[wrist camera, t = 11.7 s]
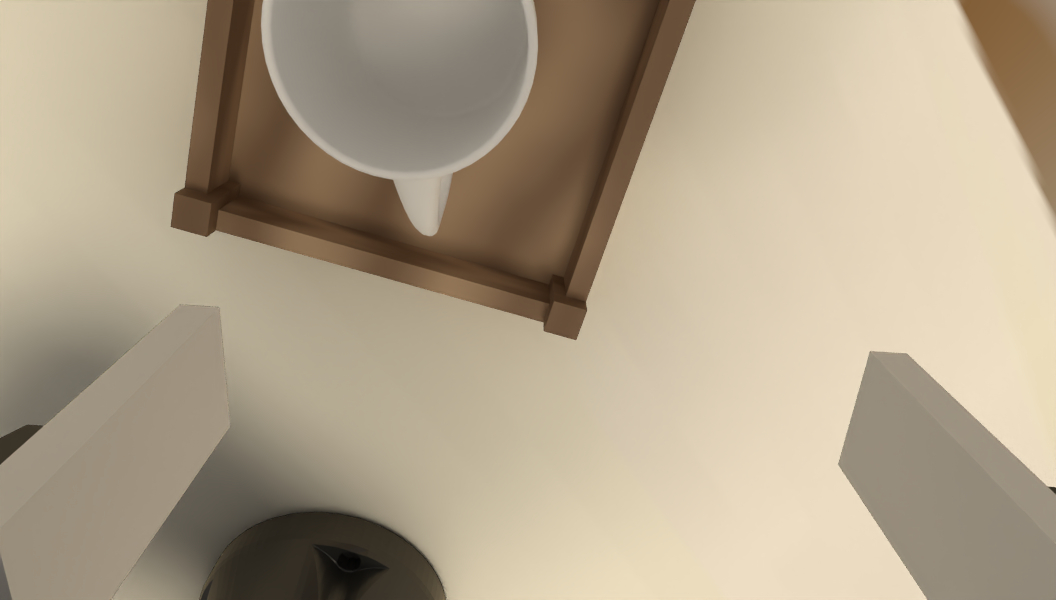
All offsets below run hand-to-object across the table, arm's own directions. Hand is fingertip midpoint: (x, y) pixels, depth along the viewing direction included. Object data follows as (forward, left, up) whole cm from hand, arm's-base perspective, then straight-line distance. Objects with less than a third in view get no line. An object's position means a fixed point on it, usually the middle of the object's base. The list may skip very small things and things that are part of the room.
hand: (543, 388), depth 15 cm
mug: (-2, +6, -22) cm, 23 cm away
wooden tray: (-3, +6, -23) cm, 23 cm away
